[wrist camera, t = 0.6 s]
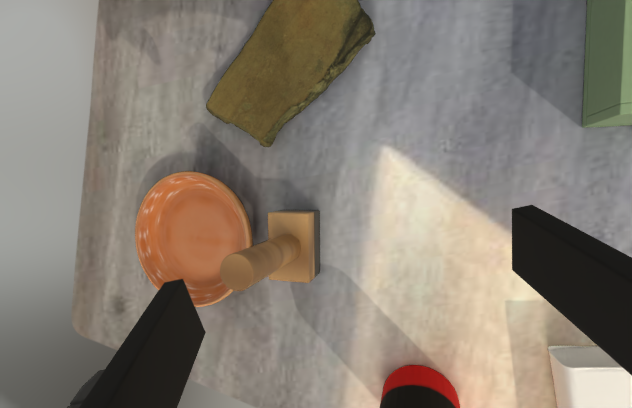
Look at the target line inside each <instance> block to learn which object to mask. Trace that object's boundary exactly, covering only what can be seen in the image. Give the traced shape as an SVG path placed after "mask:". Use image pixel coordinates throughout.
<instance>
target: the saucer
mask: <svg viewBox="0 0 632 408" xmlns="http://www.w3.org/2000/svg"><path fill="white" fill-rule="evenodd" d="M135 241H136V249H137V253H138V257H139V260H140V263H141V265H142V268H143V270H144V272H145V273H146V275H147V277H148V278H149V280H150V281H151V283H152V284H153V285H154V286H155V287H156V288H157V289H158V290H160V288H161V287H162V285H163V284H164V282H169V281H173V280H178V279H183V280H184V282H185V285H186V287H187V290H188V292H189V294H190V297H191V299H192V302H193V304H194V306H195V307H201V306H207V305H211V304H214V303H217V302H219V301H220V300H222V299H224V298H225V297H227V296H228V295H229V294H230V293H231V292H233V291H234V290H231V289H230V288H228V287H227V286H226V285H225V284H224V283H223V281H222V279H221V275H220V266H221V263H222V261H223V259H224V258H225V257H226V256H228V255H230V254H232V253H235V252H238V251H240V250H243V249H246V248H248V247H251V246H252V245H253V241H252V231H251V226H250V222H249V218H248V216H247V213H246V211H245V209H244V207H243V205H242V203H241V202H240V200H239V199H238V197H237V196H236V195H235V193H234V192H233V191H232V190H231V189H230V188H229V187H228V186H227V185H225V184H224V183H223V182H221V181H220V180H218V179H216V178H214V177H212V176H209V175H206V174H203V173H199V172H192V171H185V172H177V173H174V174H171V175H168V176H166V177H164V178H163V179H161V180H160V181H158V182H157V183H156V184H155V185H154V186H153V187H152V188H151V189H150V190H149V191H148V193H147V194H146V196H145V198H144V199H143V201H142V203H141V206H140V208H139V211H138V215H137V219H136V226H135Z"/></svg>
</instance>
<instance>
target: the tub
mask: <svg viewBox="0 0 632 408" xmlns="http://www.w3.org/2000/svg"><path fill="white" fill-rule="evenodd" d="M628 125H632V0H587V20H586V44H585V68H584V92H583V116H582V127H583V128H586V127H607V126H628Z"/></svg>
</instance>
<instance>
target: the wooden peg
mask: <svg viewBox="0 0 632 408" xmlns="http://www.w3.org/2000/svg"><path fill="white" fill-rule="evenodd" d="M319 273H320V211H318V210H280V211H275V212H269V213H268V240H267V241H264V242H262V243H259V244H256V245H254V246H251V247H248V248H246V249H243V250H240V251H238V252H235V253H232V254H230V255H228V256H226V257H225V258H224V259H223V261H222V263H221V266H220V275H221V279H222V281H223V283H224V284H225V285H226V286H227V287H228V288H230V289H231V290H234V291H243V290H245V289H247V288H249V287H250V286H252V285H254V284H255V283H257V282H259V281H260V280H262V279H264V278H265V277H267V276H268V275H269V279H270V280H282V281H293V282H304V283H309V282H310V281H311V280H312V279H314V278H315V277H316V276H317V275H318V274H319Z"/></svg>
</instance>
